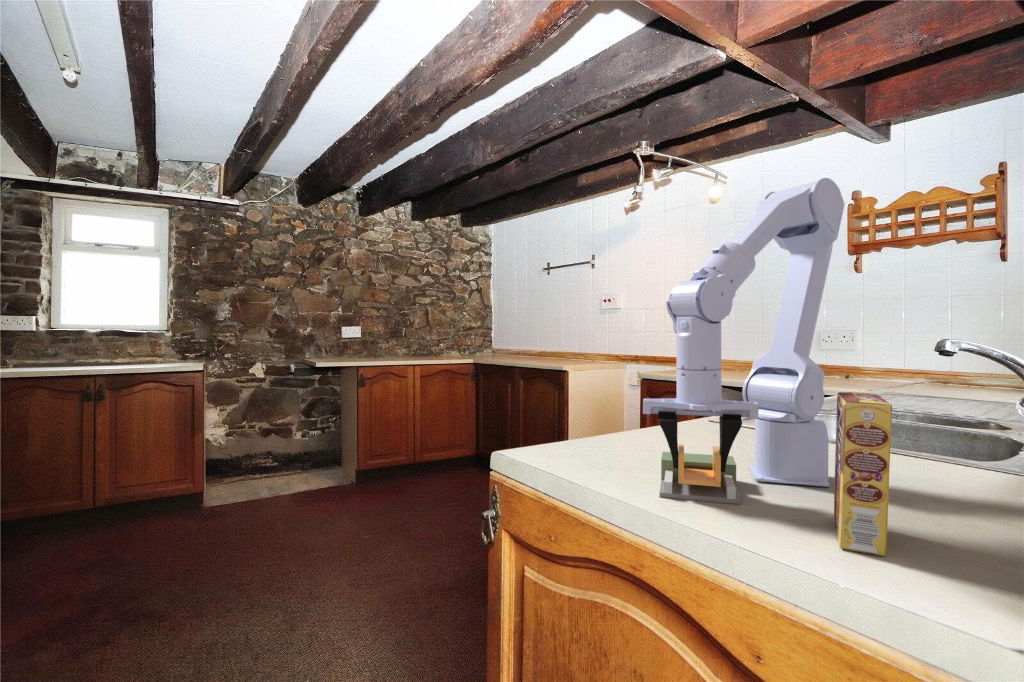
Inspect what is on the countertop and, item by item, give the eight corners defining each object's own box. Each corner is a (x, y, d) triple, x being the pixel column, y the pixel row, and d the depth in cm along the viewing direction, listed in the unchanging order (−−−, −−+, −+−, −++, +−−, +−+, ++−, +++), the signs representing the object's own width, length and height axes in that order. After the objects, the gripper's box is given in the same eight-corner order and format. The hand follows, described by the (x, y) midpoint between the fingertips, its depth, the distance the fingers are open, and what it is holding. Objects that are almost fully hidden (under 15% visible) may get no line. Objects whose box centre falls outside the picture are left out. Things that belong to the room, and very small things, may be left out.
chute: (717, 475, 72) (717, 446, 72) (720, 486, 66) (720, 456, 66) (678, 472, 73) (678, 444, 73) (678, 483, 68) (678, 453, 68)
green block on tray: (732, 479, 76) (732, 456, 76) (740, 504, 66) (740, 477, 66) (662, 474, 79) (662, 451, 79) (659, 496, 69) (659, 471, 69)
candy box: (891, 559, 50) (893, 403, 50) (839, 550, 52) (840, 400, 52) (878, 527, 58) (879, 392, 58) (833, 520, 60) (834, 390, 60)
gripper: (641, 370, 68) (641, 472, 68) (762, 372, 63) (761, 481, 64) (644, 366, 75) (645, 459, 75) (754, 367, 70) (754, 466, 71)
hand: (698, 468), depth 70 cm, fingers closed on chute, 5 cm apart
